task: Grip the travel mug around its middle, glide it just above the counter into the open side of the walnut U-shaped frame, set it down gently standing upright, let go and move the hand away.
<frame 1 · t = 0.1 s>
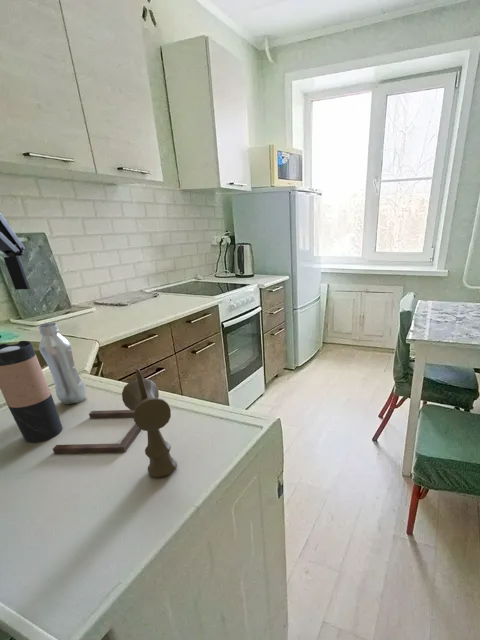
travel mug: (44, 434, 77), on the countertop
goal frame: (106, 432, 76), on the countertop
plastic bottle: (74, 401, 90), on the countertop
kendama: (163, 471, 64), on the countertop
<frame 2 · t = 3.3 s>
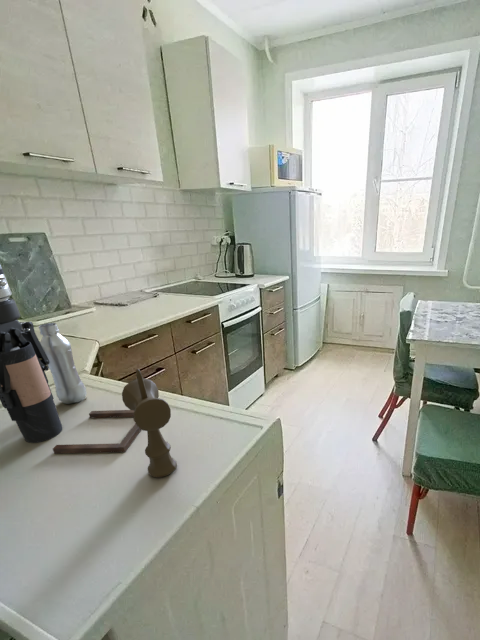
hand: (34, 409, 74), 6 cm above the countertop, tool pointing down, fingers closed on travel mug, 8 cm apart
travel mug: (44, 434, 77), on the countertop, touching gripper
everything else where it was.
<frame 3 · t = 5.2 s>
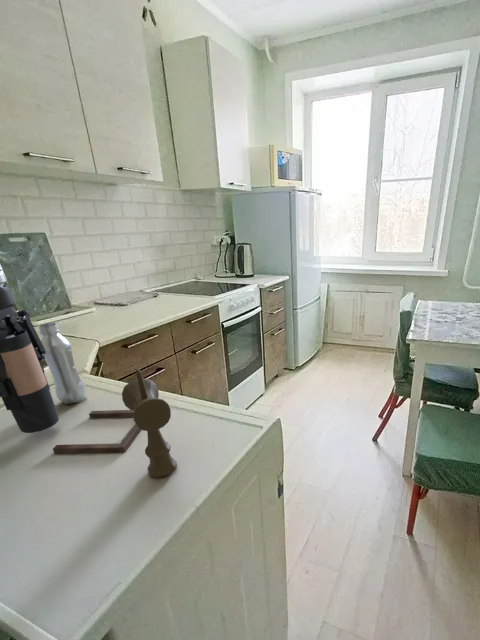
hand: (29, 398, 73), 9 cm above the countertop, tool pointing down, fingers closed on travel mug, 8 cm apart
travel mug: (40, 424, 76), point 2 cm above the countertop, touching gripper
everything else where it was.
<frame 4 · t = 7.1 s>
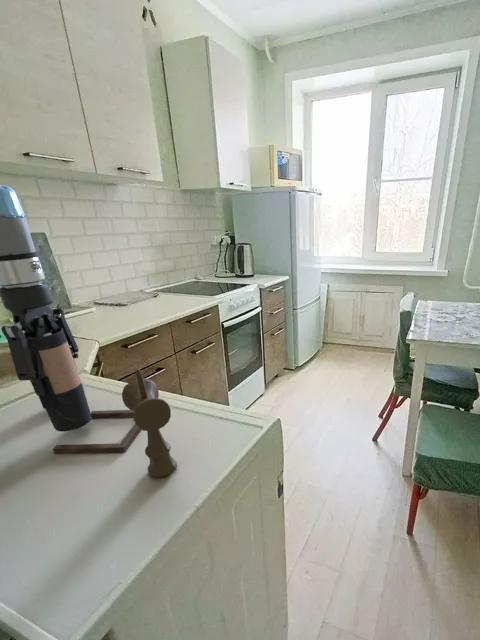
hand: (64, 397, 73), 9 cm above the countertop, tool pointing down, fingers closed on travel mug, 8 cm apart
travel mug: (73, 423, 75), point 2 cm above the countertop, touching gripper
everything else where it was.
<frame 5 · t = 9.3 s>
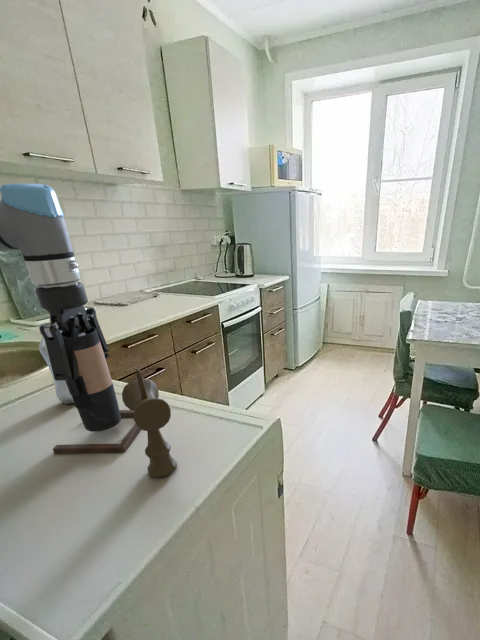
hand: (95, 397, 72), 9 cm above the countertop, tool pointing down, fingers closed on travel mug, 8 cm apart
travel mug: (103, 423, 75), point 2 cm above the countertop, touching gripper
everything else where it was.
when the fingers open (6 cm above the countertop, at t = 10.9 s): travel mug stays where it is, on the countertop.
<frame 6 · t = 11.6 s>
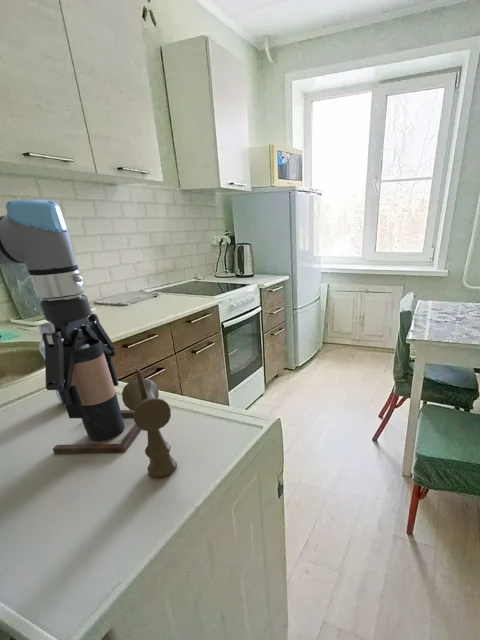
hand: (96, 400, 73), 8 cm above the countertop, tool pointing down, fingers open, 13 cm apart
travel mug: (107, 432, 76), on the countertop
everything else where it was.
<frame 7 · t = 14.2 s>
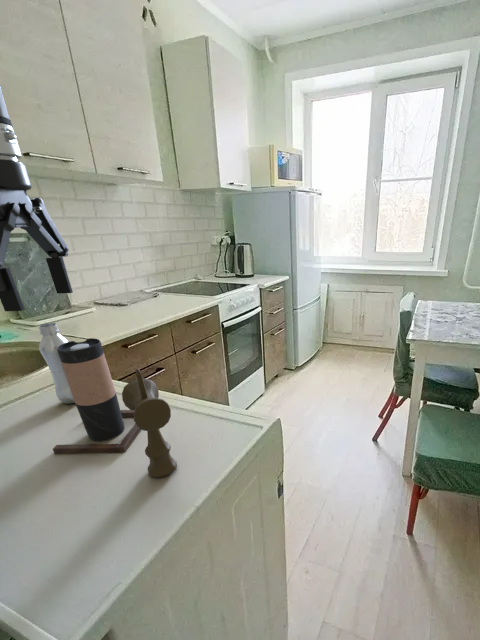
hand: (42, 301, 63), 29 cm above the countertop, tool pointing down, fingers open, 13 cm apart
nothing on the countertop moved.
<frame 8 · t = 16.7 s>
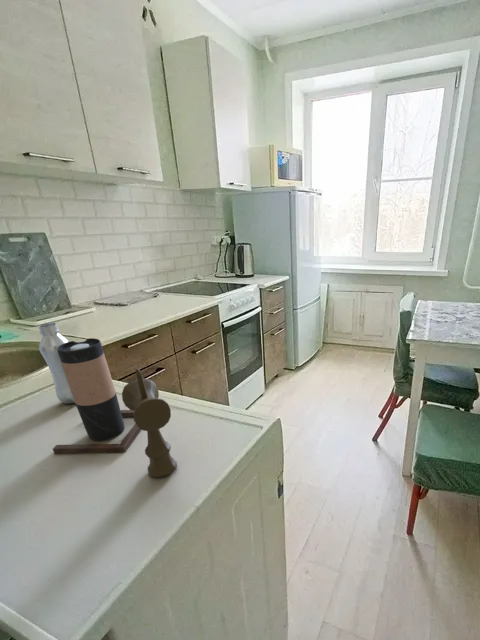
nothing on the countertop moved.
at the end: travel mug inside the target area (0.1 cm from its centre), on the countertop; travel mug tilted 0°; the gripper is holding nothing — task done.
